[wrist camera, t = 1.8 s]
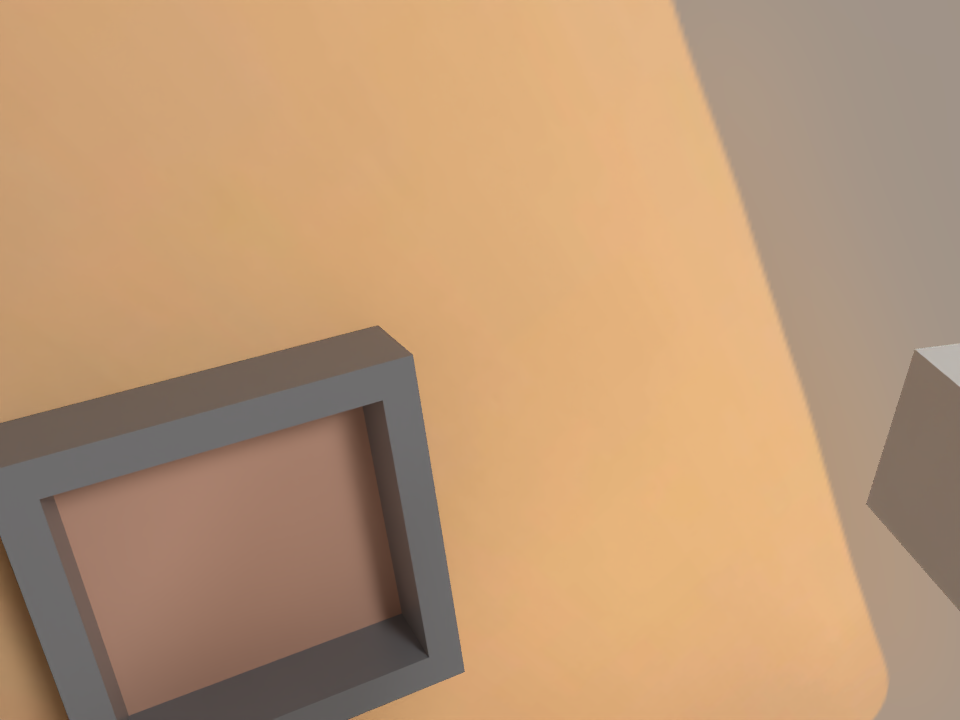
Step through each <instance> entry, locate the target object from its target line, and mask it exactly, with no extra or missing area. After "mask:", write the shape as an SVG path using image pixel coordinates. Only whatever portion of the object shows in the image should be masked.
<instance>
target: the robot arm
mask: <svg viewBox="0 0 960 720" xmlns="http://www.w3.org/2000/svg"><path fill="white" fill-rule="evenodd" d="M866 504H867V505H868V507H869V508H870V509H871V510H872V511H873V512H874V513H875V515H876V516H877V517H878V518H879V519H880V520H881V521H882V523H883V524H884V525H885V526H886V527H887V528H888V529H889V531H890V532H892V534H893V535H894V536H895V537H896V539H897V540H898V541H899V542H900V543H901V544H902V545H903V546H904V548H905V549H906V550H907V551H908V552H909V553H910V555H911V556H912V557H913V558H914V559H915V560H916V561H917V563H918V564H919V565H920V566H921V567H922V568H923V569H924V571H925V572H926V573H927V574H928V575H929V576H930V577H931V579H932V580H933V581H934V582H935V583H936V584H937V585H938V587H939V588H940V589H941V590H942V591H943V592H944V593H945V595H946V596H947V597H948V598H949V599H950V600H951V601H952V603H953V604H954V605H955V606H956V607H957V608H958V609H959V611H960V343H959V344H952V345H944V346H936V347H929V348H921V349H915V350H914V354H913V357H912V360H911V363H910V366H909V370H908V373H907V376H906V379H905V382H904V385H903V389H902V392H901V395H900V398H899V402H898V405H897V408H896V411H895V414H894V417H893V420H892V424H891V427H890V430H889V434H888V437H887V440H886V443H885V446H884V449H883V452H882V456H881V459H880V462H879V465H878V468H877V471H876V475H875V478H874V481H873V484H872V488H871V490H870V494H869V497H868V500H867V503H866Z"/></svg>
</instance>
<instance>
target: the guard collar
mask: <svg viewBox="0 0 960 720" xmlns="http://www.w3.org/2000/svg"><path fill="white" fill-rule="evenodd" d="M0 536H1V539H2V542H3V544H4V547H5V550H6V552H7V555H8V558H9V560H10V563H11V566H12V568H13V571H14V574H15V576H16V579H17V582H18V584H19V587H20V590H21V592H22V595H23V598H24V600H25V603H26V606H27V608H28V611H29V614H30V616H31V619H32V622H33V624H34V627H35V630H36V632H37V635H38V638H39V640H40V643H41V646H42V648H43V651H44V654H45V656H46V659H47V662H48V664H49V667H50V670H51V672H52V675H53V678H54V680H55V683H56V686H57V688H58V691H59V694H60V696H61V699H62V702H63V704H64V707H65V710H66V712H67V715H68V718H69V720H348V719H350V718H353V717H355V716H358V715H360V714H363V713H365V712H367V711H370V710H372V709H375V708H377V707H380V706H382V705H385V704H387V703H390V702H392V701H394V700H397V699H399V698H402V697H404V696H407V695H409V694H412V693H414V692H416V691H419V690H421V689H424V688H426V687H429V686H431V685H434V684H436V683H439V682H441V681H443V680H446V679H448V678H451V677H453V676H456V675H458V674H461V673H463V672H465V671H464V664H463V658H462V652H461V646H460V640H459V634H458V628H457V622H456V616H455V609H454V603H453V597H452V591H451V585H450V579H449V573H448V567H447V561H446V555H445V548H444V542H443V536H442V530H441V524H440V518H439V512H438V506H437V500H436V493H435V487H434V481H433V475H432V469H431V463H430V457H429V451H428V445H427V439H426V432H425V426H424V420H423V414H422V408H421V402H420V396H419V390H418V384H417V377H416V371H415V365H414V359H413V355H412V354H411V353H410V352H409V351H408V350H406V349H405V348H404V347H403V346H402V345H401V344H399V343H398V342H397V341H396V340H395V339H393V338H392V337H391V336H390V335H389V334H388V333H386V332H385V331H384V330H383V329H382V328H381V327H379V326H374V327H370V328H366V329H363V330H359V331H355V332H351V333H347V334H343V335H339V336H336V337H332V338H328V339H324V340H320V341H316V342H312V343H309V344H305V345H301V346H297V347H293V348H289V349H285V350H281V351H278V352H274V353H270V354H266V355H262V356H258V357H254V358H251V359H247V360H243V361H239V362H235V363H231V364H227V365H224V366H220V367H216V368H212V369H208V370H204V371H200V372H197V373H193V374H189V375H185V376H181V377H177V378H173V379H169V380H166V381H162V382H158V383H154V384H150V385H146V386H142V387H139V388H135V389H131V390H127V391H123V392H119V393H115V394H112V395H108V396H104V397H100V398H96V399H92V400H88V401H85V402H81V403H77V404H73V405H69V406H65V407H61V408H57V409H54V410H50V411H46V412H42V413H38V414H34V415H30V416H27V417H23V418H19V419H15V420H11V421H7V422H3V423H0Z"/></svg>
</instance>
